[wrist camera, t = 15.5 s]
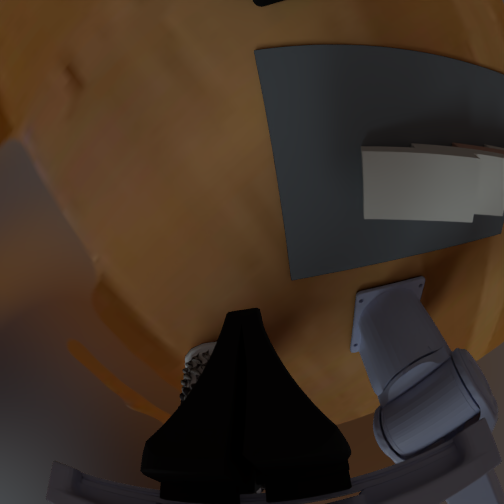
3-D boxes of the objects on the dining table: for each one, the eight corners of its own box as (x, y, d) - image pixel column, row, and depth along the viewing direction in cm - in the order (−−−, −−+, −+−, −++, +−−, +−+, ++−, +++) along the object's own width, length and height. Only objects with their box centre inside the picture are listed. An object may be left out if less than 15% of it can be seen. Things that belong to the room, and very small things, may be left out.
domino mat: (498, 231, 22) (500, 233, 22) (290, 277, 24) (291, 280, 23) (510, 77, 13) (512, 78, 12) (254, 51, 14) (254, 50, 14)
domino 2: (410, 143, 17) (502, 153, 14) (409, 202, 20) (495, 208, 17) (415, 147, 16) (511, 159, 13) (413, 210, 19) (502, 216, 15)
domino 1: (360, 146, 17) (471, 152, 14) (363, 209, 20) (465, 213, 17) (362, 151, 16) (480, 158, 13) (363, 219, 19) (472, 222, 16)
